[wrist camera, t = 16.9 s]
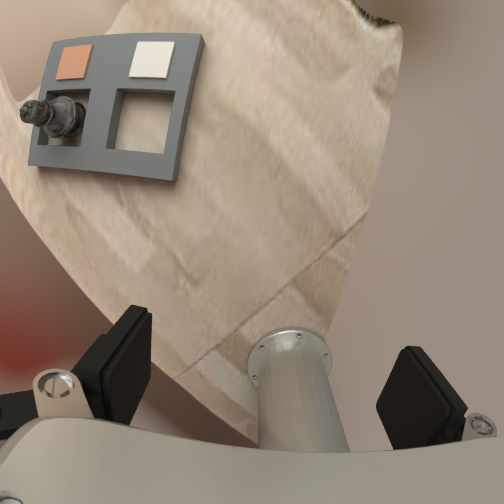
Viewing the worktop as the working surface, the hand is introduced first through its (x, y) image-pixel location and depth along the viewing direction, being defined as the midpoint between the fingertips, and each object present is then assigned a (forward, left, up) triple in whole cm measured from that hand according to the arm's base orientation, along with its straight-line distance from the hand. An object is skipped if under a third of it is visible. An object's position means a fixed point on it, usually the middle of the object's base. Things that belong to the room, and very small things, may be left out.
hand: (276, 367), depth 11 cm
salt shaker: (+10, +29, -31) cm, 43 cm away
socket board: (+13, +23, -30) cm, 40 cm away
